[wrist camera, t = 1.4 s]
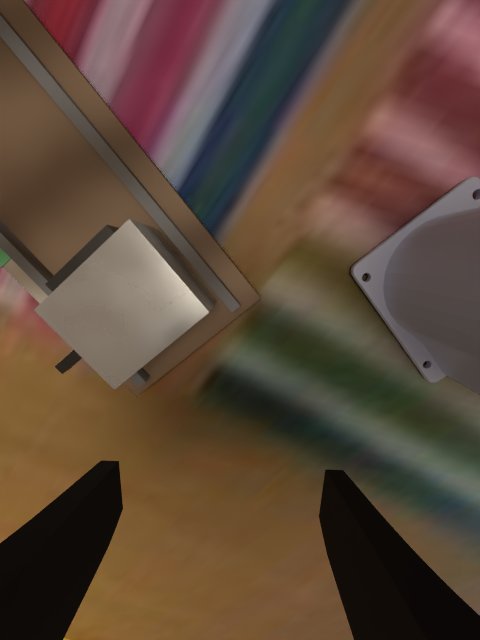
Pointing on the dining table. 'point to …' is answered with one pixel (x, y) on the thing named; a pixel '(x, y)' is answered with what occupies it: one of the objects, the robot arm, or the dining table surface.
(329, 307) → the dining table surface
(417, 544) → the dining table surface
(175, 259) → the block
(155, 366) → the base
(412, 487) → the dining table surface
